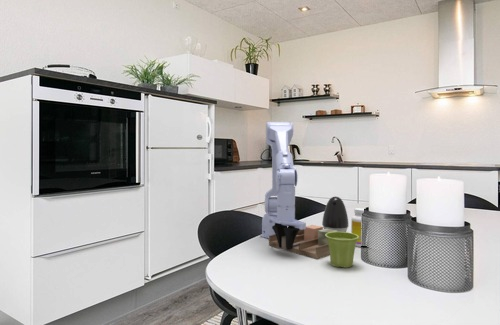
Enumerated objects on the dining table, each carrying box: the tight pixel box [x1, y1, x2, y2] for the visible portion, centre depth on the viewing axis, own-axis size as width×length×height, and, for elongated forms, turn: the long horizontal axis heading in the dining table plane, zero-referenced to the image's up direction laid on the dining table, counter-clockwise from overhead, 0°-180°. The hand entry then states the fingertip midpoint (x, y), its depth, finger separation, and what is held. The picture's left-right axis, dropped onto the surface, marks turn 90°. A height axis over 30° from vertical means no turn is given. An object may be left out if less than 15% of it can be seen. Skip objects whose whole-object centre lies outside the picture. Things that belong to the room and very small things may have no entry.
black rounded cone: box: [321, 196, 349, 232], centre depth 139 cm, size 10×10×15 cm
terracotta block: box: [281, 224, 324, 251], centre depth 118 cm, size 4×19×5 cm, turn 134°
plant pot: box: [325, 231, 359, 269], centre depth 102 cm, size 9×9×9 cm
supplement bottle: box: [350, 207, 365, 248], centre depth 123 cm, size 7×7×13 cm
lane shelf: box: [268, 228, 338, 260], centre depth 120 cm, size 20×16×6 cm
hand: (285, 248), depth 112 cm, fingers closed on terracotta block, 3 cm apart
